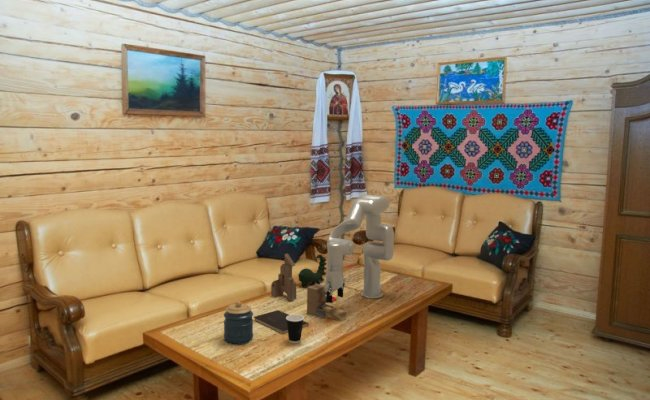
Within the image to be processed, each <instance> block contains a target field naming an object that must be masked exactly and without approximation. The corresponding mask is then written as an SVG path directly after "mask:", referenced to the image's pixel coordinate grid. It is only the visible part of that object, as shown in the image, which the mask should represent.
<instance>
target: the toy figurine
mask: <svg viewBox="0 0 650 400" xmlns="http://www.w3.org/2000/svg"><path fill="white" fill-rule="evenodd" d="M315 259H316V260H317V259H319V262H318V267H317V268H318V269H317V270H316V272H313V270H311V269H310V268H303V269H301V270H300V271H299V273H298V275H297V277H298V281H299V282H300V283H301V287H303V288H307V287H309V284H311V285H315V284H320V283H321V282H323V281H324V278H323V276H326V273H327V272H325V270H326V271H327V265H328V262H326V261H327V258H325V257H324V256H323V255H322V254H319V253H318V254H317V255H316V257H315ZM320 285H321V284H320Z"/></svg>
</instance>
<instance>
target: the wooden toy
mask: <svg viewBox="0 0 650 400" xmlns="http://www.w3.org/2000/svg"><path fill="white" fill-rule="evenodd" d="M294 266H296V264H295V262H294V261H293V260H292V258H291V256H290V254H289V253H284V263H282V264H281V265H280V268H279V270H280V271H279V272H280V273H278V275H277V276H278V278H277V279H276V280H272V282H271V288H270V289H271V294H270V296H271V297H274V298H276V297H281V296H282V295H284V293H285V294H286V296H287V301H288V302H293V301H294V300H295V299H297V282H296V281H295V279H294V278H293V267H294Z"/></svg>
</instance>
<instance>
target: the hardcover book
mask: <svg viewBox="0 0 650 400" xmlns="http://www.w3.org/2000/svg"><path fill="white" fill-rule="evenodd" d="M289 315H290V314H288V313H286V312H283V311H282V310H279V309H277V310H273V311H270V312H267V313H263V314H259V315H256V316H255V315H254V316H253V318H254V321H255V322H257V323H258V324H260V325H261V324H262V325H264V326H265V327H267V328H270V329H271V330H274V331H277V332H278V333H279V334H282V335H284V334H288V328H287V319H286V317H287V316H289ZM308 326H309V322H307V321H305V320H303V325H302V329H303V328H306V327H308Z"/></svg>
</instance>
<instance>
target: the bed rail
mask: <svg viewBox="0 0 650 400" xmlns="http://www.w3.org/2000/svg"><path fill="white" fill-rule="evenodd" d="M327 305H328V303H326V304H325V305H322V306H321V309H322V310H325V318H329V319H332V320H336V321H340V322H344V321H346V320H347V319H346V318H347V311H346V310H343V309H339V308H336V307H334V308H332V307H328V306H327Z"/></svg>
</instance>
